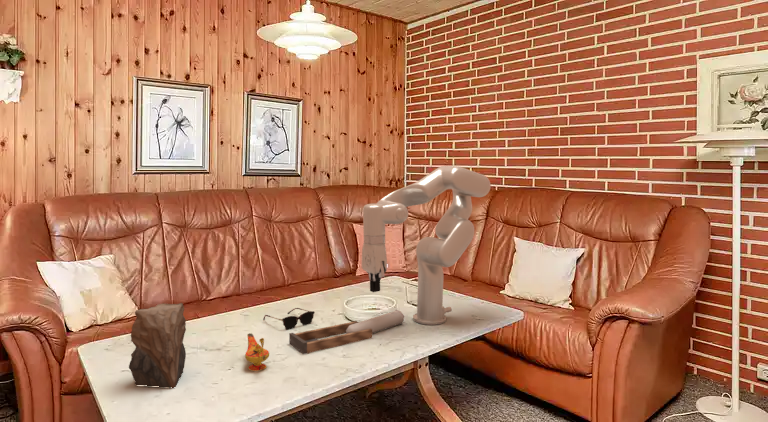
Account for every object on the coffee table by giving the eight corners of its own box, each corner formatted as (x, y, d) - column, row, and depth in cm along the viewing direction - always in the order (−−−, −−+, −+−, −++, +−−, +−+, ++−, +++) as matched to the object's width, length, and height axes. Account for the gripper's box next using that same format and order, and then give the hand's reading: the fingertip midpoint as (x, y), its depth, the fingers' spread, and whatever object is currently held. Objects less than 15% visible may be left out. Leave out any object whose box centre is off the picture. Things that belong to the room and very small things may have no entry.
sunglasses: (282, 332, 178) (282, 318, 177) (259, 323, 189) (259, 310, 189) (315, 323, 187) (314, 310, 187) (291, 315, 199) (290, 303, 198)
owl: (127, 386, 134) (124, 313, 132) (152, 367, 147) (150, 299, 144) (174, 389, 133) (171, 315, 131) (195, 369, 146) (193, 301, 144)
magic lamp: (260, 352, 159) (260, 318, 157) (275, 375, 143) (275, 337, 141) (238, 355, 156) (237, 321, 154) (250, 379, 140) (250, 340, 138)
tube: (354, 331, 168) (405, 314, 186) (344, 322, 171) (395, 307, 189) (351, 344, 170) (402, 327, 187) (341, 335, 173) (392, 319, 191)
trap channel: (356, 329, 181) (356, 319, 181) (372, 338, 173) (372, 328, 172) (289, 343, 166) (289, 333, 166) (303, 354, 158) (303, 343, 157)
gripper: (354, 237, 179) (355, 288, 182) (376, 244, 167) (377, 298, 169) (372, 235, 184) (373, 284, 186) (395, 241, 171) (396, 294, 173)
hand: (375, 291), depth 178 cm, fingers closed
